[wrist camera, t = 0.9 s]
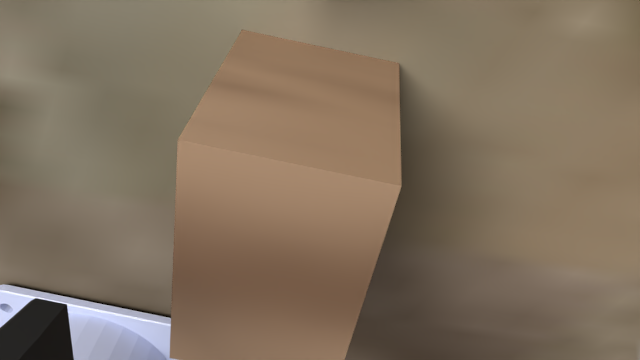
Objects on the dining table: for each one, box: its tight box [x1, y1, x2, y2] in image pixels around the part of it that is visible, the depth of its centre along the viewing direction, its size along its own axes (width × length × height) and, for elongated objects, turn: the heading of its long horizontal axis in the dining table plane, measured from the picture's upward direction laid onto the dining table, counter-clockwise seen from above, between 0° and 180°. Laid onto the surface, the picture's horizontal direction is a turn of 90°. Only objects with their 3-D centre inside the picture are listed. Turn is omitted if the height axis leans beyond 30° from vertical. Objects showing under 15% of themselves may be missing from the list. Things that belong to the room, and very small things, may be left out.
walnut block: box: [169, 30, 402, 360], centre depth 16 cm, size 7×4×6 cm, turn 170°
